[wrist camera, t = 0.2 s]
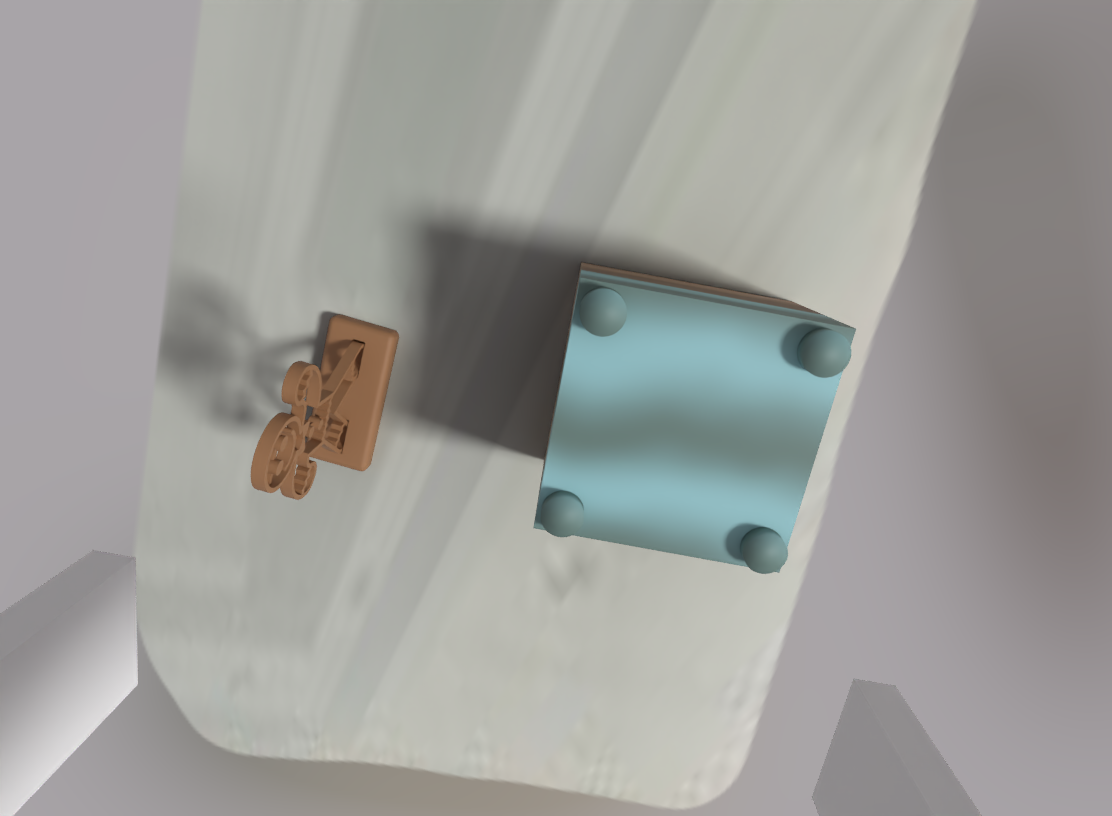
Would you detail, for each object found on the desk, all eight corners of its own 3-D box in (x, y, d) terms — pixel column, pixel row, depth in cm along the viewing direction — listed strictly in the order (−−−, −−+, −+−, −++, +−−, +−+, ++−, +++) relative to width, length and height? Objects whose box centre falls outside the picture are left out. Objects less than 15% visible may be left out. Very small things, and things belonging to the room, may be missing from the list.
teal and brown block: (581, 262, 37) (580, 279, 27) (792, 301, 37) (863, 332, 27) (544, 460, 40) (532, 535, 31) (737, 495, 40) (783, 581, 31)
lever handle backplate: (369, 468, 41) (285, 568, 29) (308, 450, 41) (199, 544, 29) (400, 331, 38) (321, 383, 27) (335, 312, 38) (227, 356, 27)
